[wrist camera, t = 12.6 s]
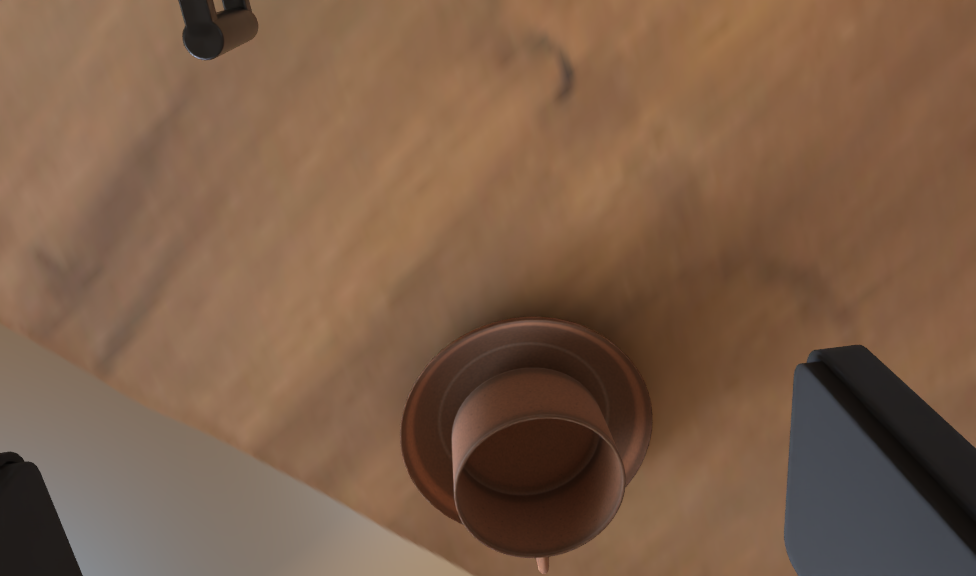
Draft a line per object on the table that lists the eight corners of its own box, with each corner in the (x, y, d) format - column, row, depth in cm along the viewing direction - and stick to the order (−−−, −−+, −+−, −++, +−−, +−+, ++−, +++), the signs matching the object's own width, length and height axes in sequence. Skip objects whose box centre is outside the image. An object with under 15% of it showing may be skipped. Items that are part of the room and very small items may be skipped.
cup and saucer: (674, 454, 41) (716, 535, 35) (465, 543, 42) (472, 635, 36) (589, 260, 36) (621, 317, 30) (356, 366, 37) (345, 440, 31)
